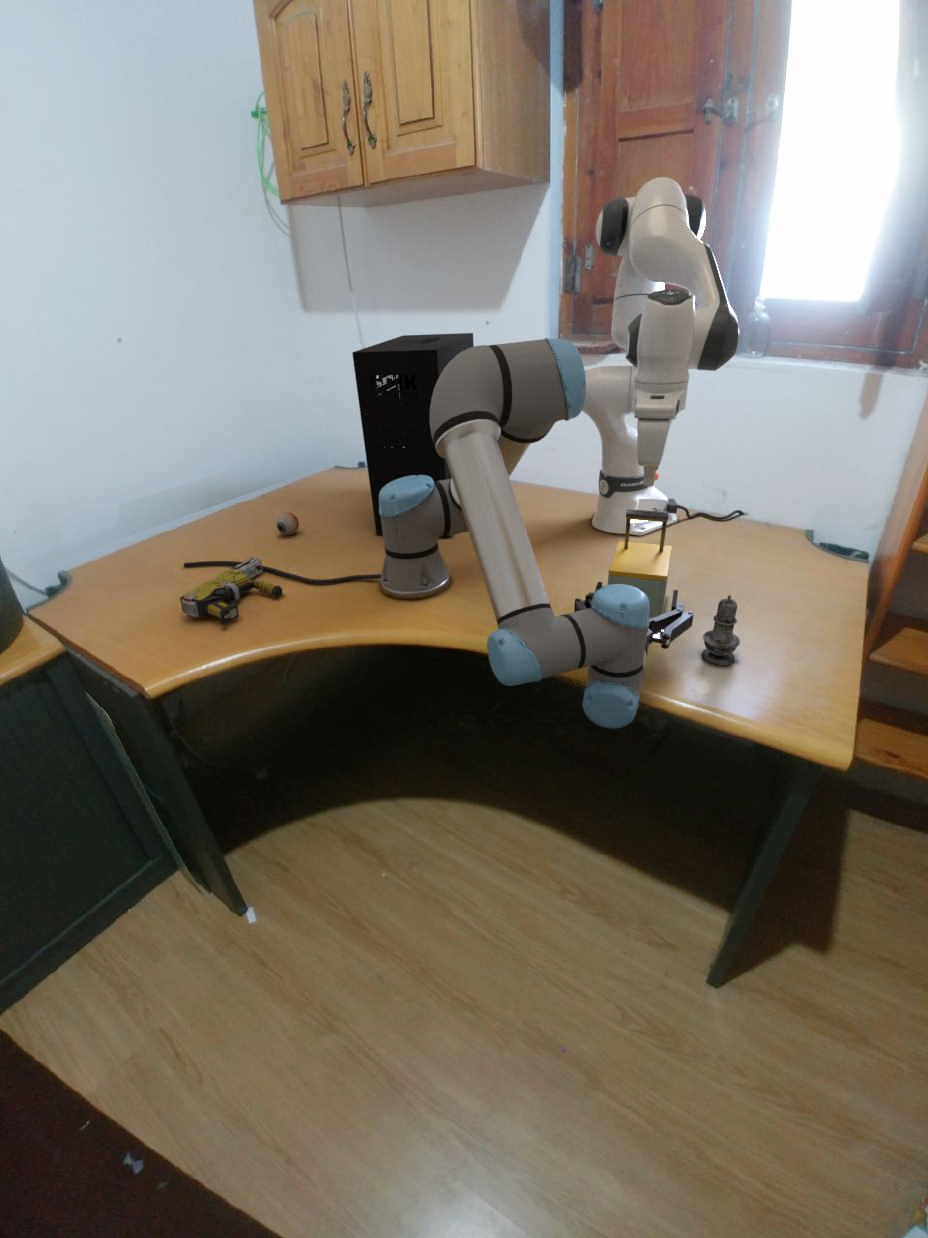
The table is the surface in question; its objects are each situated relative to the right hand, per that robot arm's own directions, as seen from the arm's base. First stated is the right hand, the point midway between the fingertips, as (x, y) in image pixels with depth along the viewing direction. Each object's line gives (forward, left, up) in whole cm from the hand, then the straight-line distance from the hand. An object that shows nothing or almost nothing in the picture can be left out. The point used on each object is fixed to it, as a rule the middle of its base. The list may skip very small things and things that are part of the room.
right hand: (650, 477), depth 110 cm
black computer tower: (+16, -72, -26) cm, 78 cm away
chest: (+3, +3, -26) cm, 26 cm away
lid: (+3, +3, -15) cm, 16 cm away
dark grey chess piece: (+1, +23, -26) cm, 34 cm away
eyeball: (+57, -77, -26) cm, 99 cm away
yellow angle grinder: (+72, -43, -26) cm, 88 cm away
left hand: (+6, +7, -19) cm, 21 cm away
